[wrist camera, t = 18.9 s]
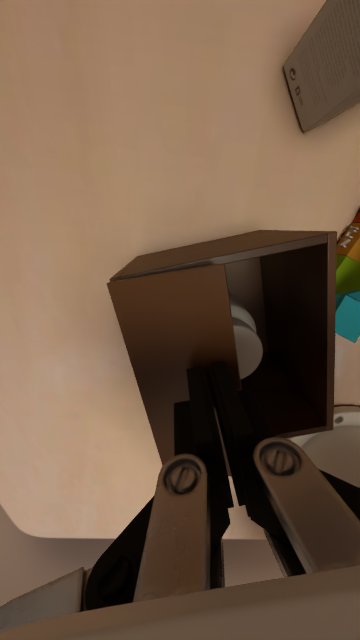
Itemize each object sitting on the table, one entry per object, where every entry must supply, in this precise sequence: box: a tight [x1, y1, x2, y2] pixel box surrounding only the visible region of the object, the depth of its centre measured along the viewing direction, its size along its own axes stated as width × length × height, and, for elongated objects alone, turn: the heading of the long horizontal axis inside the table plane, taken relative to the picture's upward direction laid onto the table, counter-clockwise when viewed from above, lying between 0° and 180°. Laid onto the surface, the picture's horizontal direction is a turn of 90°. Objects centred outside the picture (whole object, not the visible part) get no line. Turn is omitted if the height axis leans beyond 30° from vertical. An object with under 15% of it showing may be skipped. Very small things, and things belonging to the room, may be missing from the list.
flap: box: [107, 263, 242, 476], centre depth 11 cm, size 11×5×1 cm, turn 11°
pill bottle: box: [229, 292, 263, 379], centre depth 17 cm, size 4×4×8 cm
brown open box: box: [110, 230, 337, 439], centre depth 17 cm, size 11×10×9 cm
